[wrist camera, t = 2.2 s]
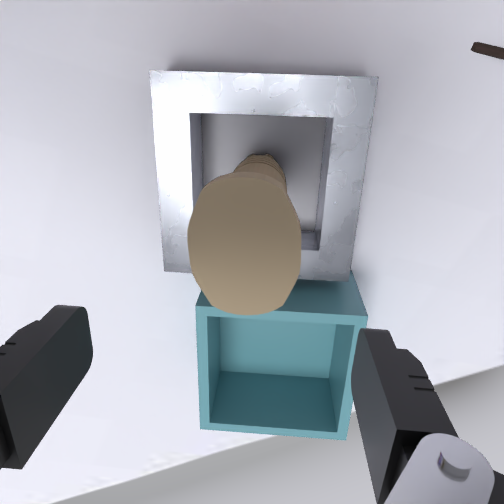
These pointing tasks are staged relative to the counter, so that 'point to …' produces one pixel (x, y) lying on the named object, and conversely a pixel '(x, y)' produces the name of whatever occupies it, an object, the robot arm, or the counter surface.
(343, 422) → the bin
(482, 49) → the sushi plate
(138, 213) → the counter surface
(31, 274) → the counter surface
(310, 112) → the socket block
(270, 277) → the handle
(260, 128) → the counter surface
